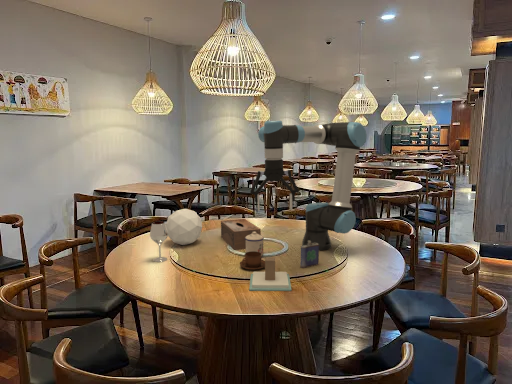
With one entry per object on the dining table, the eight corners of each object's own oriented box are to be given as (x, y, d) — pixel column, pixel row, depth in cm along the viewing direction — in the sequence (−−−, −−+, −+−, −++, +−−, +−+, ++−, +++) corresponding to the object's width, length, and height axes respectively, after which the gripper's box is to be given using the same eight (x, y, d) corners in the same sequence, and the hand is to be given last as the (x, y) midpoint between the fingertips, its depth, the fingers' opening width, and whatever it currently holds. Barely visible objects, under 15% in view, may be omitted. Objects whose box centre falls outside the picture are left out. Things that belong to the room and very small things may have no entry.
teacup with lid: (261, 258, 180) (261, 234, 178) (243, 257, 182) (242, 233, 180) (266, 250, 191) (266, 228, 189) (249, 249, 193) (249, 227, 191)
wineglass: (172, 257, 181) (170, 221, 178) (162, 263, 174) (161, 225, 171) (157, 256, 184) (156, 220, 181) (147, 261, 176) (145, 224, 173)
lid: (286, 274, 157) (286, 253, 156) (288, 288, 144) (288, 265, 142) (253, 274, 158) (253, 253, 156) (252, 287, 144) (251, 265, 143)
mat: (288, 275, 158) (288, 273, 158) (291, 290, 142) (291, 289, 142) (250, 275, 159) (250, 273, 159) (249, 290, 143) (249, 289, 143)
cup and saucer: (257, 273, 161) (257, 260, 160) (234, 268, 167) (234, 255, 166) (271, 265, 171) (271, 252, 170) (249, 260, 177) (249, 248, 176)
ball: (192, 252, 210) (212, 223, 213) (182, 250, 191) (204, 218, 193) (165, 234, 214) (185, 205, 217) (153, 230, 195) (175, 198, 197)
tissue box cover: (221, 237, 217) (220, 220, 215) (244, 235, 222) (244, 218, 220) (234, 250, 193) (234, 231, 191) (260, 247, 198) (260, 228, 196)
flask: (302, 268, 166) (303, 243, 164) (298, 266, 169) (298, 241, 167) (320, 264, 171) (320, 239, 169) (315, 262, 174) (316, 238, 172)
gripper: (303, 157, 158) (303, 206, 161) (243, 159, 158) (245, 208, 162) (305, 158, 150) (305, 210, 154) (243, 160, 151) (245, 212, 154)
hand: (274, 209), depth 158 cm, fingers open, 13 cm apart
